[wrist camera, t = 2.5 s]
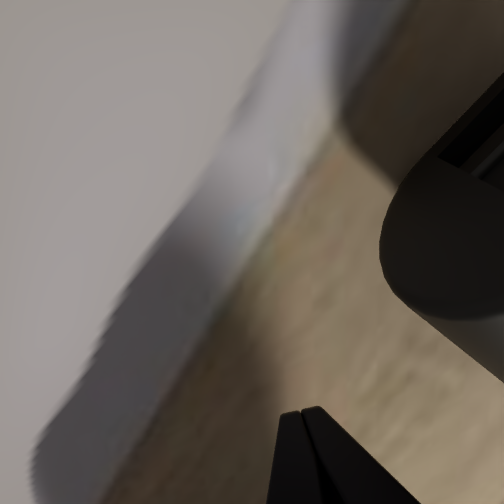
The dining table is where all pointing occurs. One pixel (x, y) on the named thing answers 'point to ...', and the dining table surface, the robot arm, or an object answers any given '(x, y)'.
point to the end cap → (455, 233)
